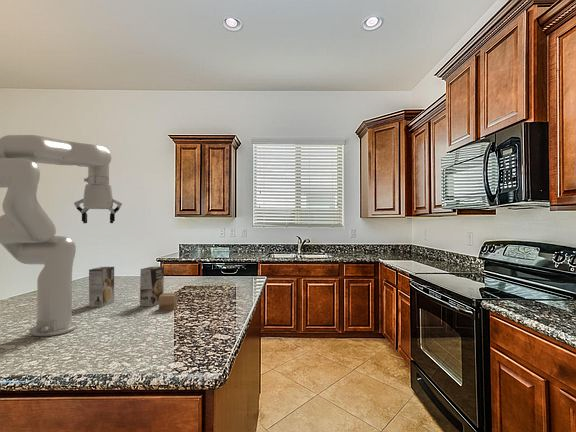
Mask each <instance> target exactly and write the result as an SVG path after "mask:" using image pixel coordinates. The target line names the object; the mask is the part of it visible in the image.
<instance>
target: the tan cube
mask: <svg viewBox="0 0 576 432" xmlns="http://www.w3.org/2000/svg"><path fill="white" fill-rule="evenodd" d="M176 308H178V292H164V293H162V294H161V295H160V296H159V304H158V311H159V312H160V311H162V312H163V311H175V310H176Z"/></svg>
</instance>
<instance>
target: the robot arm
mask: <svg viewBox="0 0 576 432" xmlns="http://www.w3.org/2000/svg"><path fill="white" fill-rule="evenodd" d="M110 163H112V154H111V152H110V150H109V149H108V148H106V147H105V146H101V145H97V144H91V143H90V144H89V143H83V142H76V141H68V140H61V139H57V138H52V137H48V136H47V137H46V136H41V135H37V134H8V135H7V134H6V135H3V136H2V137H0V188H7V190H6V193H5V196H4V198H3V201H2V203H1V204H2V205H1V206H2V211H3V213H4V214H2V215H0V244H1V246H2V247H3V248H4V249H5V250H6V251H7V252H8V253H9V254H10V255H11V256H12V258H14V259H15V260H16V261H18V262H19V263H21V264H24V265H44V266H43V267H42V269H41V271H40V272H39V274H38V277H37V280H36V281H37V284H36V285H37V288H36V289H37V292H36V293H37V294H36V295H37V296H36V325H35V326H33V327H31V328H30V329H29V331H28V332H29V333H30V334H31V336H35V337H50V336H58V335H62V334H65V333H69V332H72V331H74V330H75V329H76V328H77V327H78V325H77V322H75V321H72V310H73V309H72V308H73V307H72V305H73V302H72V301H73V300H72V299H73V286H72V285H73V266H74V261H75V257H76V251H77V250H76V249H77V247H76V244H75V243H76V242H74V241H73V239H72V238H69V237H68V236H62V235H56V232H57V228H56V225H55V223H54V222H53V220H52V219H51V218H50V217H49V215H48V214H47V212H46V211H45V210H44V208H43V207H42V205H41V204H40V202H39V201H38V199H37V197H38V196H37V193H38V192H37V191H38V185H39V183H40V182H39V181H40V179H41V178H40V177H41V173H40V172H41V171H40V168H39V166H38V164H45V165H56V166H77V167H85V168H87V172H88V173H87V177H86V178H83V181H84V182H85V183H86V184H85V187H84V192H83V198H81V199H80V200H76V201H74V203H73V204H74V206H75V208H76V209H77V211H78V212H80V213H81V222H82V224H87V223H88V213H87V212H88V211H89V210H108V211H109V212H110V214H109V224H114V222H115V220H116V215H115V214H116V213H117V212H118V211H119V210H120V209H121V207H122V206H123V203H122V202H120V201H118V200H116V199H114V198H113V189H112V185H110ZM80 204H82V206H83V208H82V207H81V205H80ZM114 204H115V205H117V206H116V207H115V208H113V206H114Z"/></svg>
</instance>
